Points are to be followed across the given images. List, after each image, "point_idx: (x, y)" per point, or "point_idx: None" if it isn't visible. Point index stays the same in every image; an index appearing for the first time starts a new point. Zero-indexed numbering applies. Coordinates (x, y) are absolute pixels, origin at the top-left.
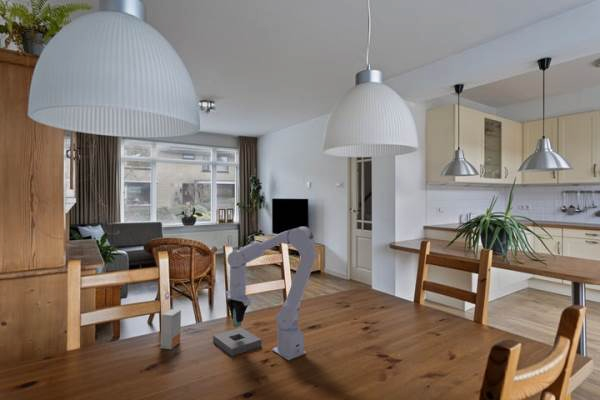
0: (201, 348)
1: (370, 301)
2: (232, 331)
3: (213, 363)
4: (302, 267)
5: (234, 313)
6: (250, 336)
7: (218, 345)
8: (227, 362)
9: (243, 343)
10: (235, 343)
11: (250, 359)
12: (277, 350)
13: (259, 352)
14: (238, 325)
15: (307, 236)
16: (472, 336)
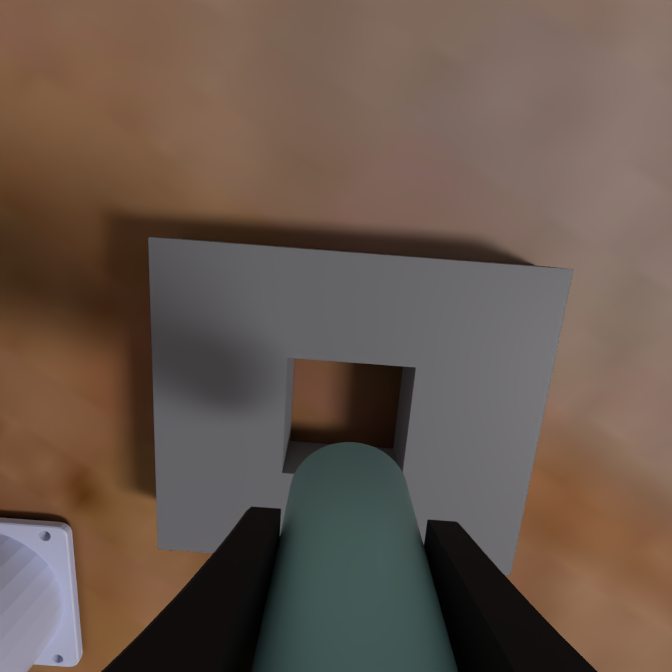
0: (505, 108)
1: None
2: (495, 465)
3: (162, 37)
4: None
5: (330, 629)
6: None
7: (426, 257)
8: (105, 149)
9: (185, 390)
10: (235, 334)
11: (41, 324)
12: (10, 539)
13: (103, 440)
14: (290, 494)
15: None
16: None
